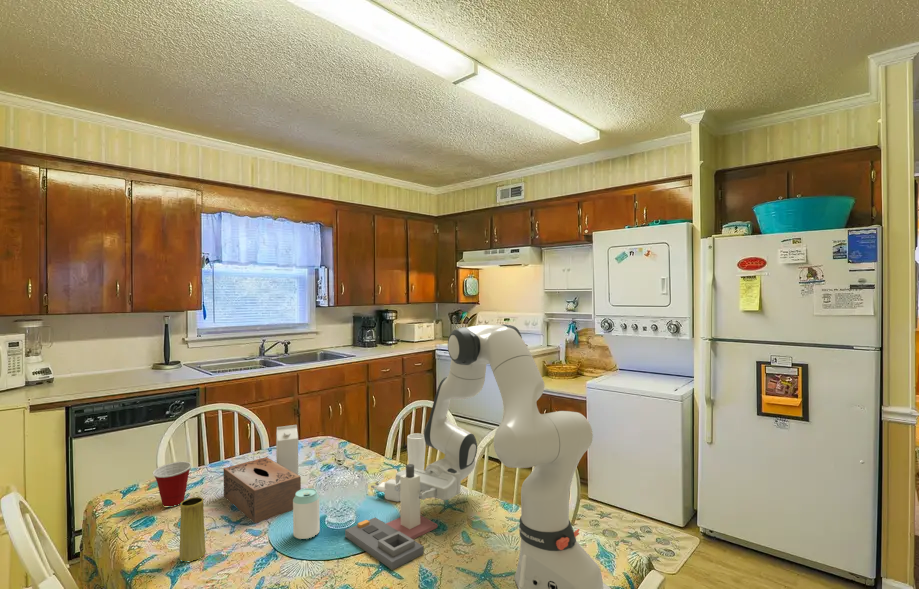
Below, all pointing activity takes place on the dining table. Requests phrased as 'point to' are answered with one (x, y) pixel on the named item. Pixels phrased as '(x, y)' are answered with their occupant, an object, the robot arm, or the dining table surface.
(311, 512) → the can
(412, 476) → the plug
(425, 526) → the rubber mat
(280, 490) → the tissue box cover
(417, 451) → the drinking glass
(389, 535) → the power strip
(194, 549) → the vase
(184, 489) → the plastic cup
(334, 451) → the dining table surface
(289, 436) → the milk carton
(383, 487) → the power adapter
